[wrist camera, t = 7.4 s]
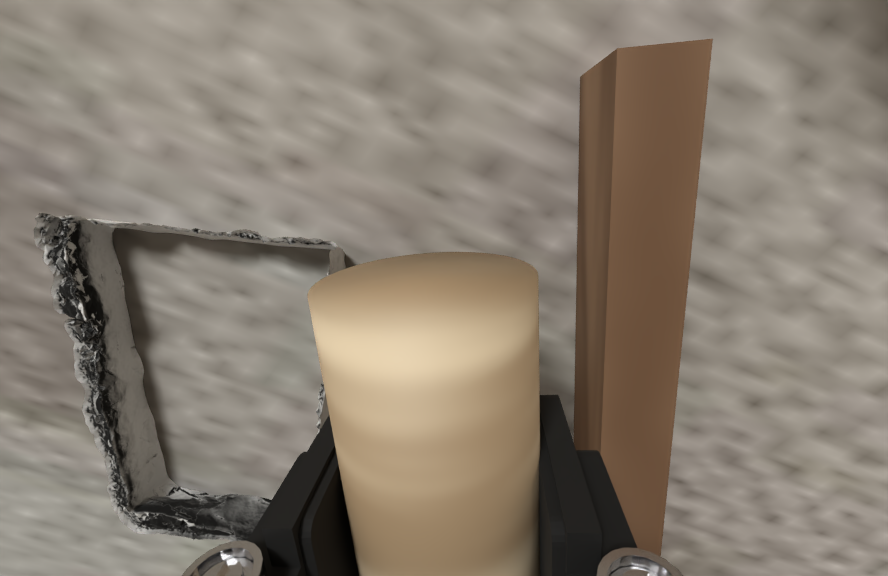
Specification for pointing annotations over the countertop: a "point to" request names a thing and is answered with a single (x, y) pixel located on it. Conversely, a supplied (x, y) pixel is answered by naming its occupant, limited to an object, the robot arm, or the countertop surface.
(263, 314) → the countertop surface
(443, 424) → the roller
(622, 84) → the stop rail
